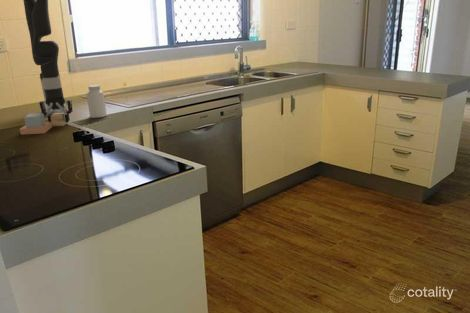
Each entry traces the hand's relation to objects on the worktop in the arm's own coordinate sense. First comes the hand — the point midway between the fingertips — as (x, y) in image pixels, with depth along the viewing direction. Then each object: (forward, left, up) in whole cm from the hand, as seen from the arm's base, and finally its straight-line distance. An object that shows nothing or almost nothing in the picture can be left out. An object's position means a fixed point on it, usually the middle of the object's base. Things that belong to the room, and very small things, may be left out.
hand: (59, 122), depth 193 cm
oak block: (0, 0, -1) cm, 1 cm away
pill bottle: (-12, +15, -1) cm, 19 cm away
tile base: (+9, -7, -1) cm, 11 cm away
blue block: (+9, -7, +2) cm, 11 cm away
